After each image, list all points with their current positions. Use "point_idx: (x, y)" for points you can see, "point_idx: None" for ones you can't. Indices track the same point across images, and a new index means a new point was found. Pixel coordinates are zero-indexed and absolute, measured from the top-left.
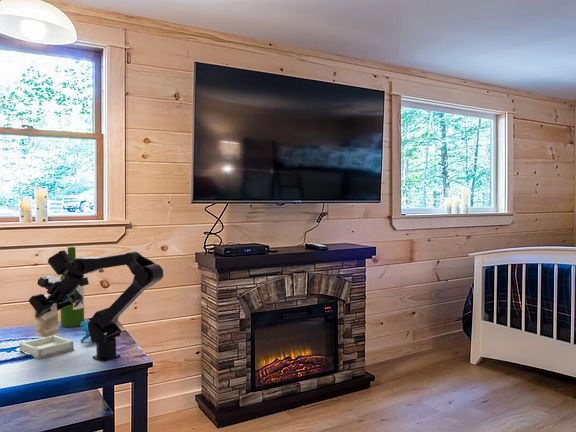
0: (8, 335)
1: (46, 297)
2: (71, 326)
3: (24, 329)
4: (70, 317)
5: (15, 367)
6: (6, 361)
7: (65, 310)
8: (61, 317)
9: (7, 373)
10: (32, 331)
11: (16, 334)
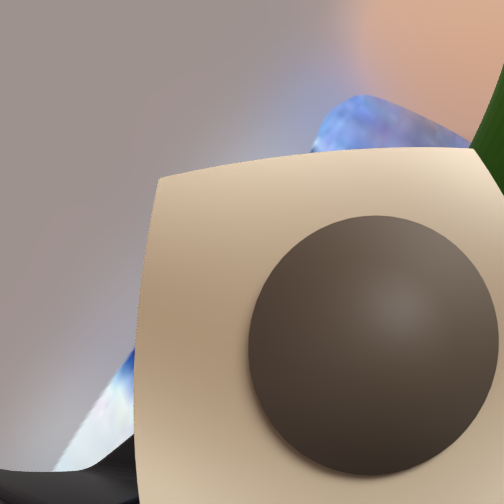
0: (324, 121)
1: (405, 436)
2: None
3: (377, 114)
4: (495, 172)
5: (109, 441)
6: (134, 357)
7: (493, 142)
8: (473, 146)
9: (71, 454)
10: (388, 139)
11: (343, 128)
